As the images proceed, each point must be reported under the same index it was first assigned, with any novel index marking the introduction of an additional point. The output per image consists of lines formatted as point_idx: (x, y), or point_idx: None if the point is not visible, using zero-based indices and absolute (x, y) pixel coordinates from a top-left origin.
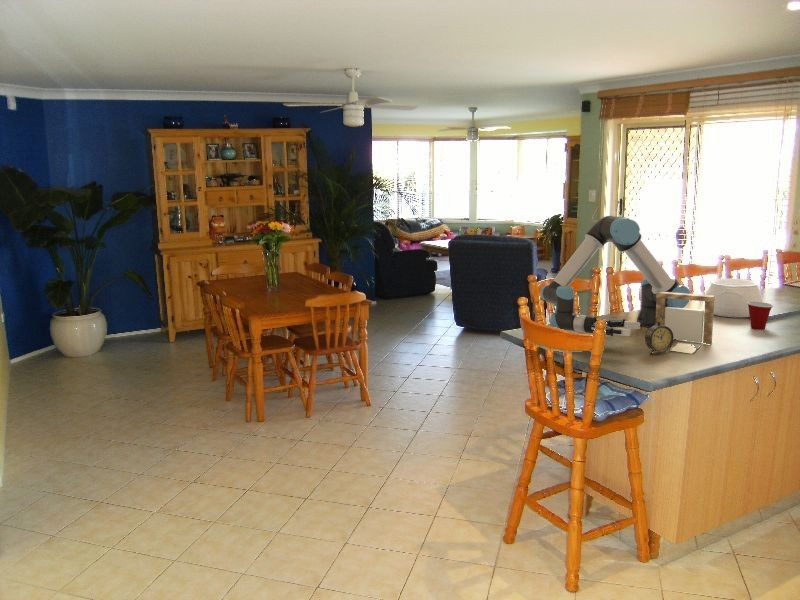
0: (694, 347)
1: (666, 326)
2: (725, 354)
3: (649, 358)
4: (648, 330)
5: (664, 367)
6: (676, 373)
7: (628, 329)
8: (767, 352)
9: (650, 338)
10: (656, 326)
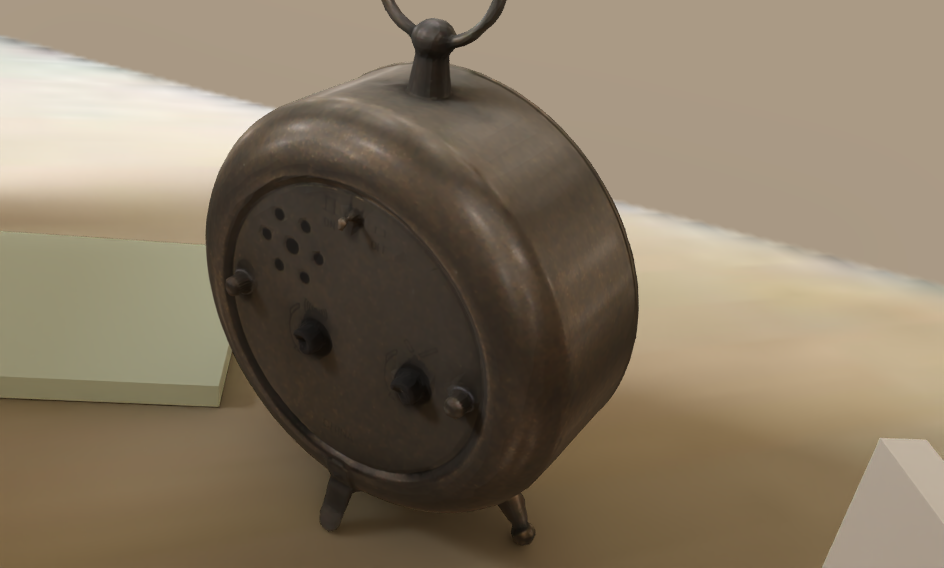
0: (32, 248)
1: (402, 63)
2: (159, 148)
3: (692, 522)
4: (543, 254)
5: (861, 370)
6: (916, 301)
7: (935, 463)
8: (21, 47)
9: (637, 319)
10: (496, 116)
